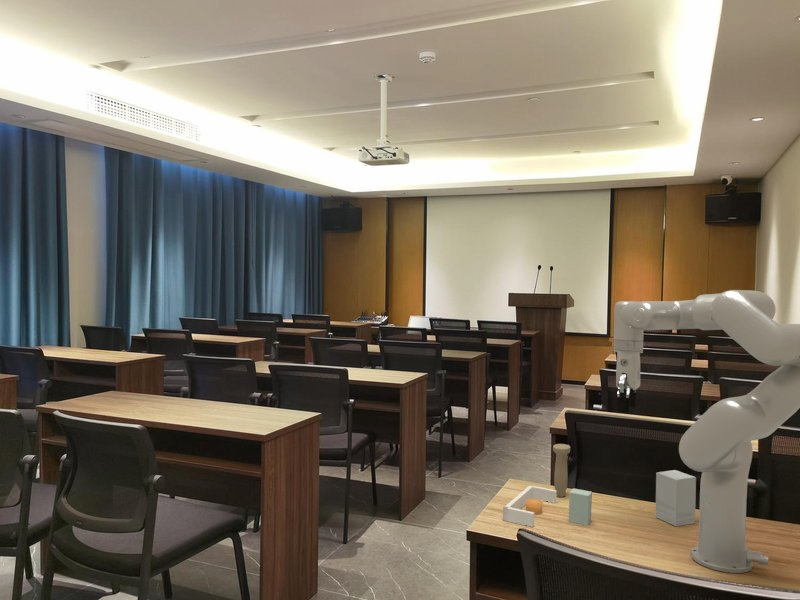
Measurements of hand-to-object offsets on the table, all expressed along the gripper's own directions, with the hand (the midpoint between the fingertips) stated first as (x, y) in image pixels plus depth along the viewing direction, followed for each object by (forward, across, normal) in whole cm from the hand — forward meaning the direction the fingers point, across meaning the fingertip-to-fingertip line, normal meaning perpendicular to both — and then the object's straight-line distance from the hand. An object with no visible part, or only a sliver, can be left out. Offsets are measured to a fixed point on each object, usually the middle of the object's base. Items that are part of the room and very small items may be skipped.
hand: (626, 409), depth 163 cm
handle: (+31, +10, +20) cm, 38 cm away
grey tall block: (+30, -8, +10) cm, 33 cm away
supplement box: (+31, +8, -12) cm, 34 cm away
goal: (+30, -8, +24) cm, 39 cm away
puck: (+30, -8, +23) cm, 39 cm away
